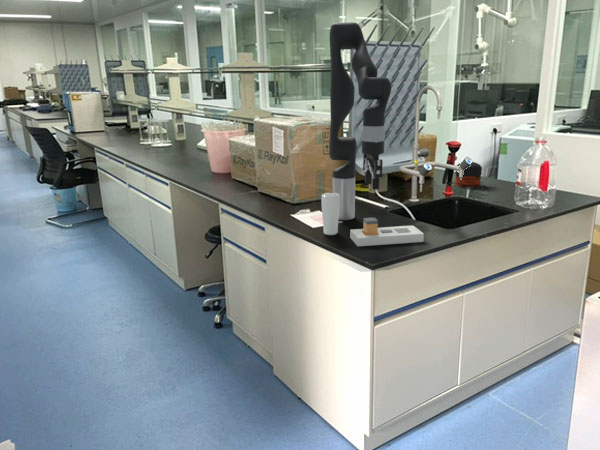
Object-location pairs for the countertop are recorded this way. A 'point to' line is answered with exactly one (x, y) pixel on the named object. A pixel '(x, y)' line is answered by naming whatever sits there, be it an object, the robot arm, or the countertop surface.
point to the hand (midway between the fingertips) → (371, 186)
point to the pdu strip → (387, 236)
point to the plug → (370, 226)
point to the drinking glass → (330, 212)
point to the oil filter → (469, 176)
